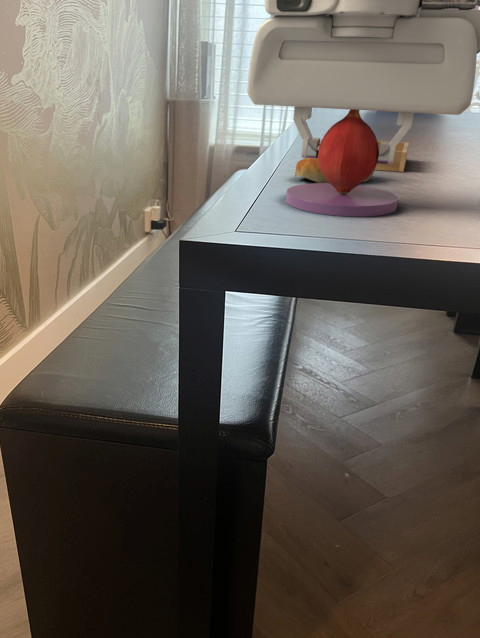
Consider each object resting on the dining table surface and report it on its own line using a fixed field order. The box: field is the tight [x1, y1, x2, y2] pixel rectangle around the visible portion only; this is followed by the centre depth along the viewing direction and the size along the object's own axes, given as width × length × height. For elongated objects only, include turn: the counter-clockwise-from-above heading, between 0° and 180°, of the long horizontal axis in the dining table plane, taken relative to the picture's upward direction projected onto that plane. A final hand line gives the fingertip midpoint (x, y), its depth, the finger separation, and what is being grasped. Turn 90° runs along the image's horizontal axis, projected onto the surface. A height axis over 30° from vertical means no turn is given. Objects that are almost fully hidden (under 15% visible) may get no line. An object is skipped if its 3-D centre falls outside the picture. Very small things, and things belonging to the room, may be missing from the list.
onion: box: [318, 109, 379, 194], centre depth 59 cm, size 6×6×8 cm
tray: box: [374, 140, 410, 173], centre depth 84 cm, size 10×10×2 cm
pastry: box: [294, 158, 375, 183], centre depth 72 cm, size 9×7×4 cm
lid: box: [285, 182, 399, 218], centre depth 61 cm, size 11×11×1 cm
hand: (346, 160), depth 59 cm, fingers closed on onion, 6 cm apart
